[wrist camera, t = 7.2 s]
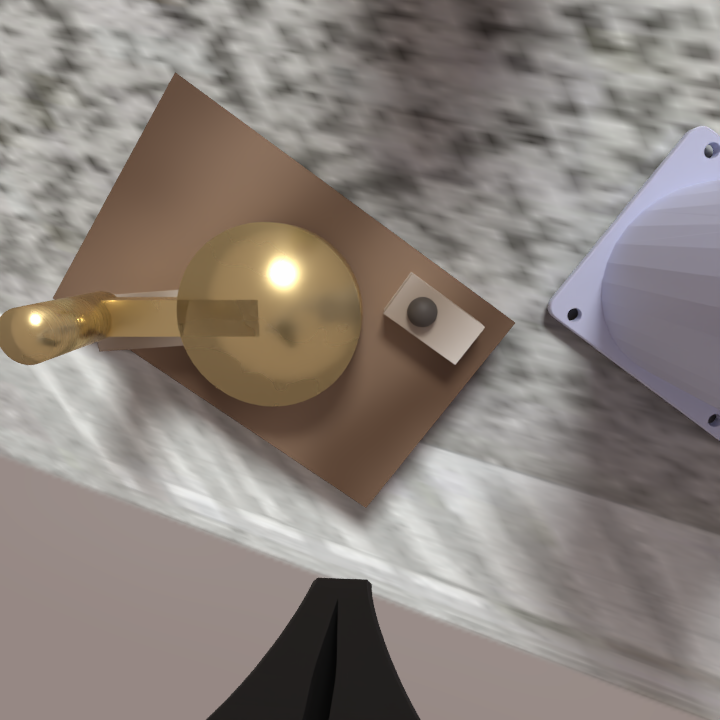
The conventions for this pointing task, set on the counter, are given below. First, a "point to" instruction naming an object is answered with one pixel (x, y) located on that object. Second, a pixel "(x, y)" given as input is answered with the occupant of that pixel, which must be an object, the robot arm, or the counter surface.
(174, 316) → the gold door handle
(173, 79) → the stand
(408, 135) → the counter surface
